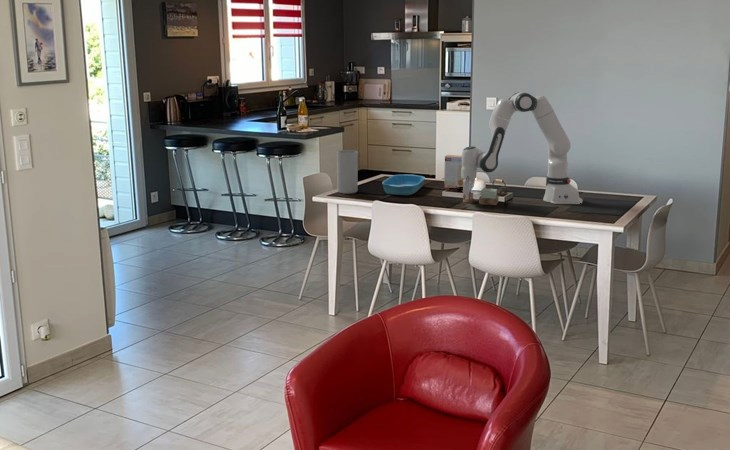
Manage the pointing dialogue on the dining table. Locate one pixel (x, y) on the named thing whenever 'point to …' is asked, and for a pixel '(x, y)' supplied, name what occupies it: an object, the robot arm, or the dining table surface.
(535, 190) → the dining table surface
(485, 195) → the sage block
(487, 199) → the walnut block
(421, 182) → the casserole dish
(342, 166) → the cylinder vase
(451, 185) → the cracker box
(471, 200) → the terracotta cube
